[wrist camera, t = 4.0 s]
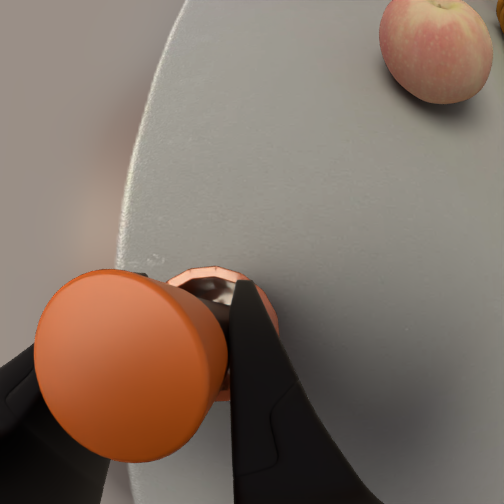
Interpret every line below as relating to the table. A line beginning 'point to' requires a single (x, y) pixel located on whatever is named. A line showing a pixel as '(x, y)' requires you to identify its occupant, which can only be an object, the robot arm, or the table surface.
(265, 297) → the pen cup
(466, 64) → the apple
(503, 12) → the plumb bob
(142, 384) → the cylinder
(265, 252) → the table surface
